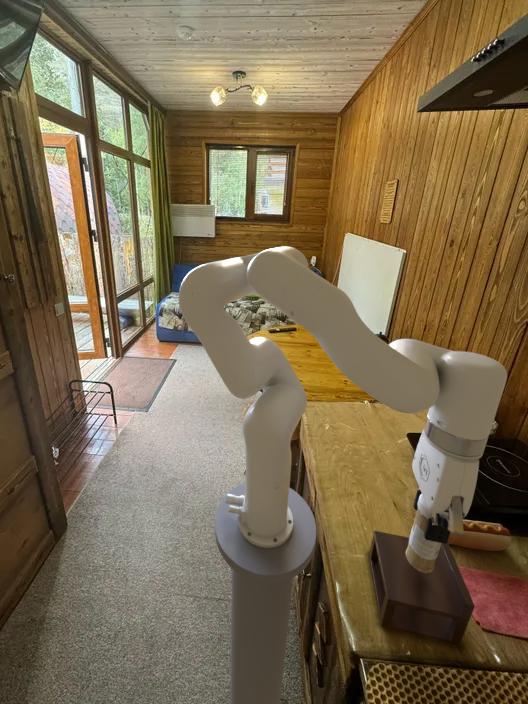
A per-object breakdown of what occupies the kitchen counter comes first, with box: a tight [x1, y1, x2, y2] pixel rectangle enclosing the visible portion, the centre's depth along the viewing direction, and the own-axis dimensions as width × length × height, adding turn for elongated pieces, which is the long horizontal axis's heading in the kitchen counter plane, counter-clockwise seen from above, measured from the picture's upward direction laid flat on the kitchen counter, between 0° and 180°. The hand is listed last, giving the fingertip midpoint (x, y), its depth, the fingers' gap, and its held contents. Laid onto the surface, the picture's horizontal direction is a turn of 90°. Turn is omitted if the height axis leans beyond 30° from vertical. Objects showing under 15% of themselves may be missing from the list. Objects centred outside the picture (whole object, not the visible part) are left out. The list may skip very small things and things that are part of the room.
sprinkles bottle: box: [406, 494, 448, 573], centre depth 52 cm, size 5×5×14 cm
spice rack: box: [368, 530, 476, 647], centre depth 55 cm, size 12×12×10 cm
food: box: [448, 519, 513, 552], centre depth 66 cm, size 14×6×5 cm, turn 83°
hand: (429, 523), depth 51 cm, fingers closed on sprinkles bottle, 4 cm apart
